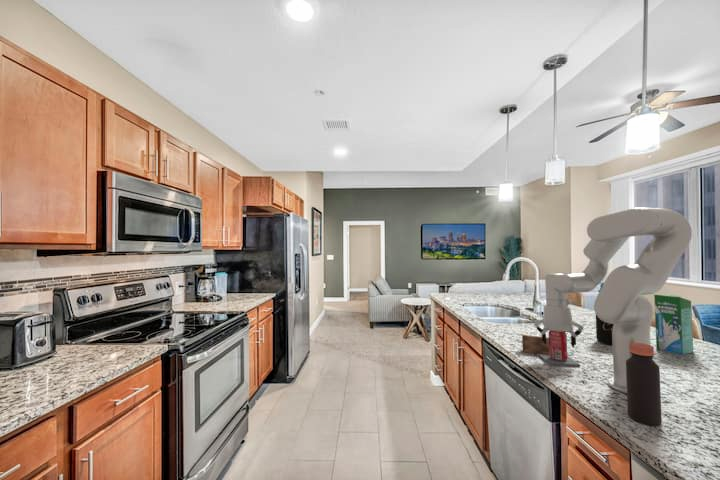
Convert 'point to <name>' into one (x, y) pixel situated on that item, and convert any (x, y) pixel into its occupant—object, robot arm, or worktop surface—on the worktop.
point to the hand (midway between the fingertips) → (558, 345)
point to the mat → (554, 362)
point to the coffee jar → (604, 331)
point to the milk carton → (673, 324)
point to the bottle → (643, 385)
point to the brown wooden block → (535, 344)
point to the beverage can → (558, 345)
